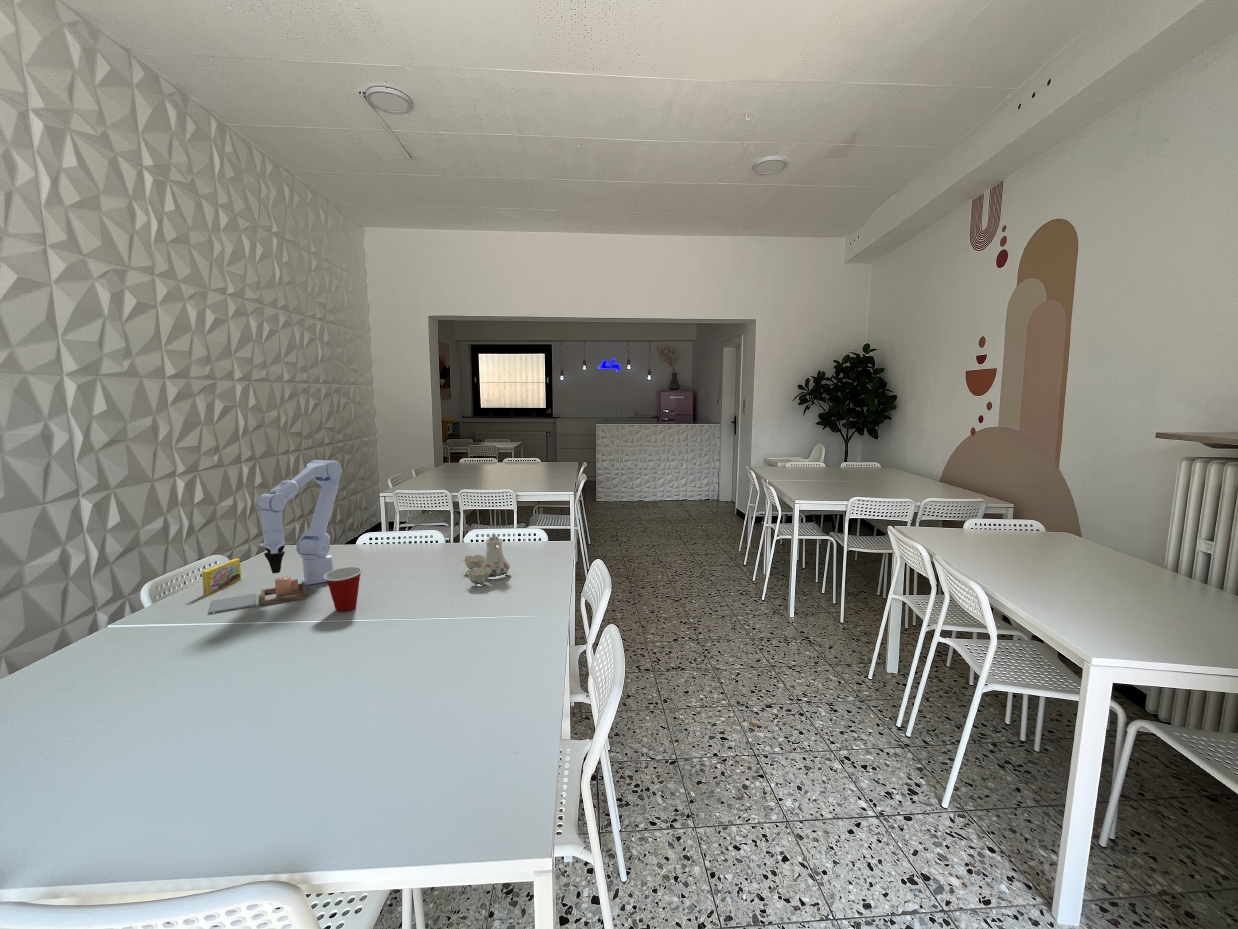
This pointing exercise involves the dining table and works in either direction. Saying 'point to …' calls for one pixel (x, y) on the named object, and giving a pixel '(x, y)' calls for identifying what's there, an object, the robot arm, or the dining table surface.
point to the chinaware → (487, 562)
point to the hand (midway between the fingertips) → (276, 569)
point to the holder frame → (282, 599)
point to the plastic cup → (344, 587)
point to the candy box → (221, 576)
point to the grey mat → (233, 603)
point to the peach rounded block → (285, 586)
